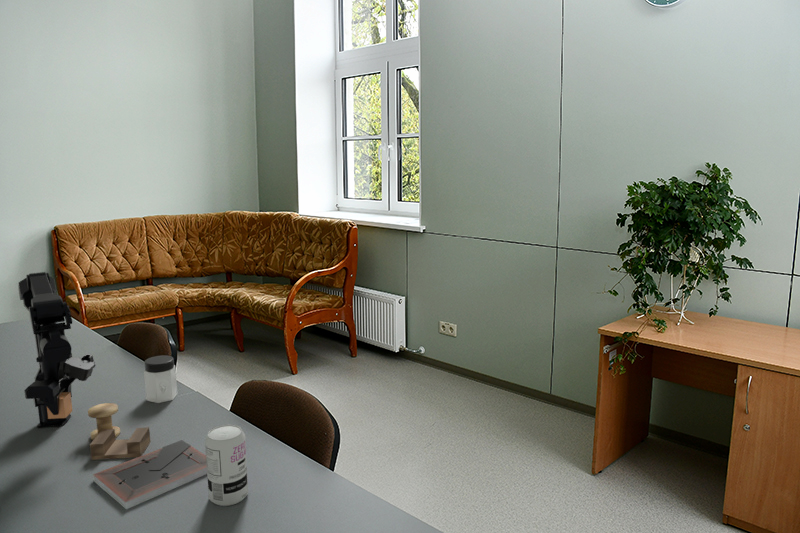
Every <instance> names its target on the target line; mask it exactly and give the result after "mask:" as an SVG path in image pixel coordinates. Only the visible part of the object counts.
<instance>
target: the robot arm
mask: <svg viewBox="0 0 800 533" xmlns="http://www.w3.org/2000/svg"><path fill="white" fill-rule="evenodd" d="M18 295H19V301H22V302H23V307H24V309H26V310H27V311H28V313H29V319H30V323H31V328H32V333H33V335H34V339H35V348H36V355H37V357H36V363H38V370H37V371H36V373H35V376H34V378H33V382H32V383H31V384H30V385H28V386H27V387H26V388H25V389H24V397H25V399H26V400H32V399H33V400H32V401H33V404H34V407H35V408H37V411H38V412H37V413H38V419H39V422H38V424H37V425H36V428H44V427H45V428H46V427H49V428H51V427H61V426H63V425H64V424H65V423H66V422H67V421H68V420H69V419H70V418H72V413H70V414H69V415H68V416H67V417H66V418H54V419H48V412H47V407H48V409H49V410H50V411H51V412H52V414H53V415H58V414H59V396H60V394H61V392H70V393H71V398H72V397H73V394H72V384H73V382H75V381H76V380H78V381H79V382H80V381H81V382H85V381H87V380H88V379H89V378H90V377H91V376H92V373H93V370H94V369H95V368H96V364H95V363H96V362H95V361H94V355H93V354H90V353H86V354H85V355H84V356H82V357H79V356H78V357H73V354H72V345H71V343H70V341H69V340H68V339H67V336H66V333H65V332H66V331H67V330H72V326H71V325H72V324H73V317H72V313H71V309H70V306H69V305H68V303H67V302H66V301H63V298H62V296H60V295H59V294H57V286H56V281H55V278H54V277H52V276H50V274H49V272H46V271H42V272H34V273H33V272H31V273H29V274H26V276H25V277H24V278H23V279H22V280H20V281H18ZM65 330H66V331H65Z"/></svg>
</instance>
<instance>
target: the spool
mask: <svg viewBox="0 0 800 533" xmlns="http://www.w3.org/2000/svg"><path fill="white" fill-rule="evenodd" d="M118 411H119V407H118V404H116V403H114V402H113V403H111V402H106V403H104V402H103V403H99V404H96V405H93V406H91V407H90V408H89V409H88V410H87V415H88V417H90V418H92V419H95V420H96V429H94V430H92V431H91V432H90V433H89V434H90V440H91V441H93V440H94V439H95V438H96V436H97V435H98V434H99V433H100V432H101V430H104V429H115V439H116V438H118V437H119V436H120V435H121V428H120V427H119V426H115V425H113V419H112V418H113V417H112V416H113V415H115V414H117V413H118Z"/></svg>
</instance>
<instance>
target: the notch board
mask: <svg viewBox="0 0 800 533" xmlns="http://www.w3.org/2000/svg"><path fill="white" fill-rule="evenodd" d="M91 441H92V442H91V443H90V444H89V449H90V456H91V457H90V458H91V461H95V460H97V461H98V460H111V459H112V460H113V459H135V458H137V457H140V456H143V455H144V453H145V451H146V449H147V448H148V446H149V445H150V443H151V432H150V427H149V426H146V427H145V426H144V427H136V429H135V430H134V432H133V433H132V434H131V436H130V437H129V438H128V439H125V438H124V439H116V438H115V429H104V430H101V432H100V433H99V434H98V435H97V436H96V438H95V439H94V440H91Z"/></svg>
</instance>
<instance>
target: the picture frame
mask: <svg viewBox="0 0 800 533" xmlns="http://www.w3.org/2000/svg"><path fill="white" fill-rule="evenodd" d="M206 475H207V462H206V454H205V453H203V452H201V451H199V449H196V448H195V447H193V446H192V445H191V444H189V443H187V442H186V441H184V440H182V439H181V440H178V441H176V442H173V443H169V444H168V445H165V446H162V447H161V448H159V449H156V450H154V451H151V452H149V453H148V452H147V453H146V454H143V455H142V456H140V457H134V458H131V459H130V460H128V461H125V462H122V463H119V464H116V465H114V466H112V467H109V468H106V469H104V470H101V471H99V472H96V473H94V474H93V475H92V476H93V482H94V483H95V484H97V486H99V487H100V488H101V489H102V490H103V491H104V492H106V493H107V494H108V495H109V496H110V497H111V498H113V499H114V500H115V501H116V502H117V503H118V504H120V505H121V506H122V507H123V508H124V509H125V510H129V509H130V508H134V507H135V506H137V505H140V504H142V503H145V502H146V501H148V500H151V499H153V498H155V497H158V496H160V495H163V494H164V493H167V492H170V491H172V490H173V489H175V488H178V487H181V486H183V485H185V484H187V483H190V482H192V481H195V480H196V479H198V478H200V477H201V478H202V477H203V476H206Z"/></svg>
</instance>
